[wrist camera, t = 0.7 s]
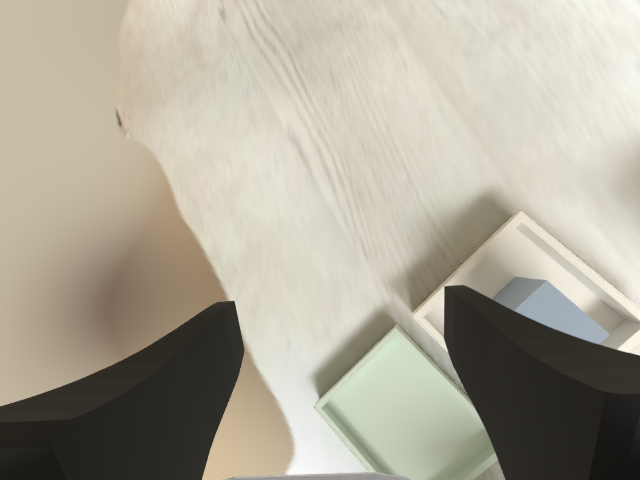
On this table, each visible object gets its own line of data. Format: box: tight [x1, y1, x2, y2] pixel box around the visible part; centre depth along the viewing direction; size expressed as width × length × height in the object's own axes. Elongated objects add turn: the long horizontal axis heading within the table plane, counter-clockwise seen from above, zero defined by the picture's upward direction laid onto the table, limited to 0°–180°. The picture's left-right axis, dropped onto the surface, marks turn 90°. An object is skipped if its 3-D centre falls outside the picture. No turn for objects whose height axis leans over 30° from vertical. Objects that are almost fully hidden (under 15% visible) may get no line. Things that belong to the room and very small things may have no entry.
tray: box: [314, 324, 498, 480], centre depth 29 cm, size 12×10×2 cm
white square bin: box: [412, 211, 640, 353], centre depth 27 cm, size 12×12×3 cm
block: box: [492, 277, 610, 344], centre depth 25 cm, size 4×4×7 cm
